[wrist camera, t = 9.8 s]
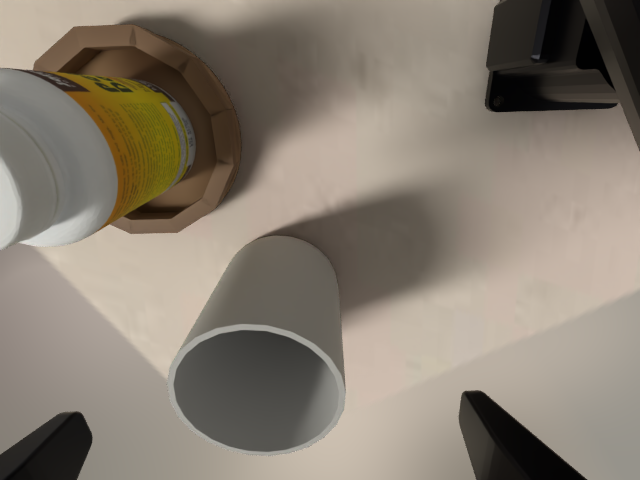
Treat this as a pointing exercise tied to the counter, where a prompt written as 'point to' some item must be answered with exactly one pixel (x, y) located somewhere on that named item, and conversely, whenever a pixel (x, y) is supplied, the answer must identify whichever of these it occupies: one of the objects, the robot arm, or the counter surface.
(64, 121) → the supplement bottle
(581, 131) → the counter surface
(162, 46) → the walnut tray
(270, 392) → the cup
